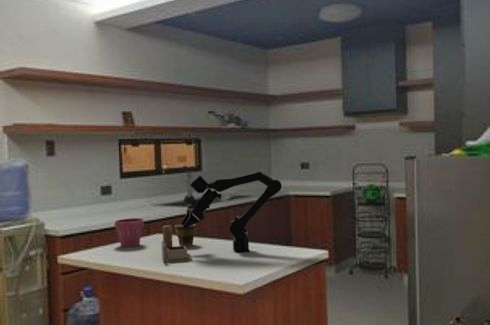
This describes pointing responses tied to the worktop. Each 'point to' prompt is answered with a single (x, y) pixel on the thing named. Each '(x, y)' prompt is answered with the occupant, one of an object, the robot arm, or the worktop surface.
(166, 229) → the wooden pestle
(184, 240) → the ceramic cup
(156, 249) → the worktop surface
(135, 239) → the plant pot
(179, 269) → the worktop surface
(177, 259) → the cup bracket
